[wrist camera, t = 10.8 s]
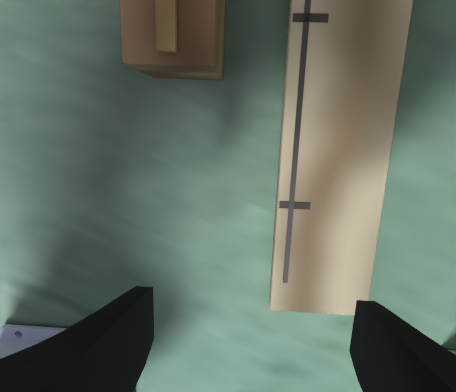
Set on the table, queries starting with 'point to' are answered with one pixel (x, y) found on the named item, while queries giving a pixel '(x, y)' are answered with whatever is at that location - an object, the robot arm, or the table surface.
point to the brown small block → (174, 37)
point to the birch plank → (335, 149)
